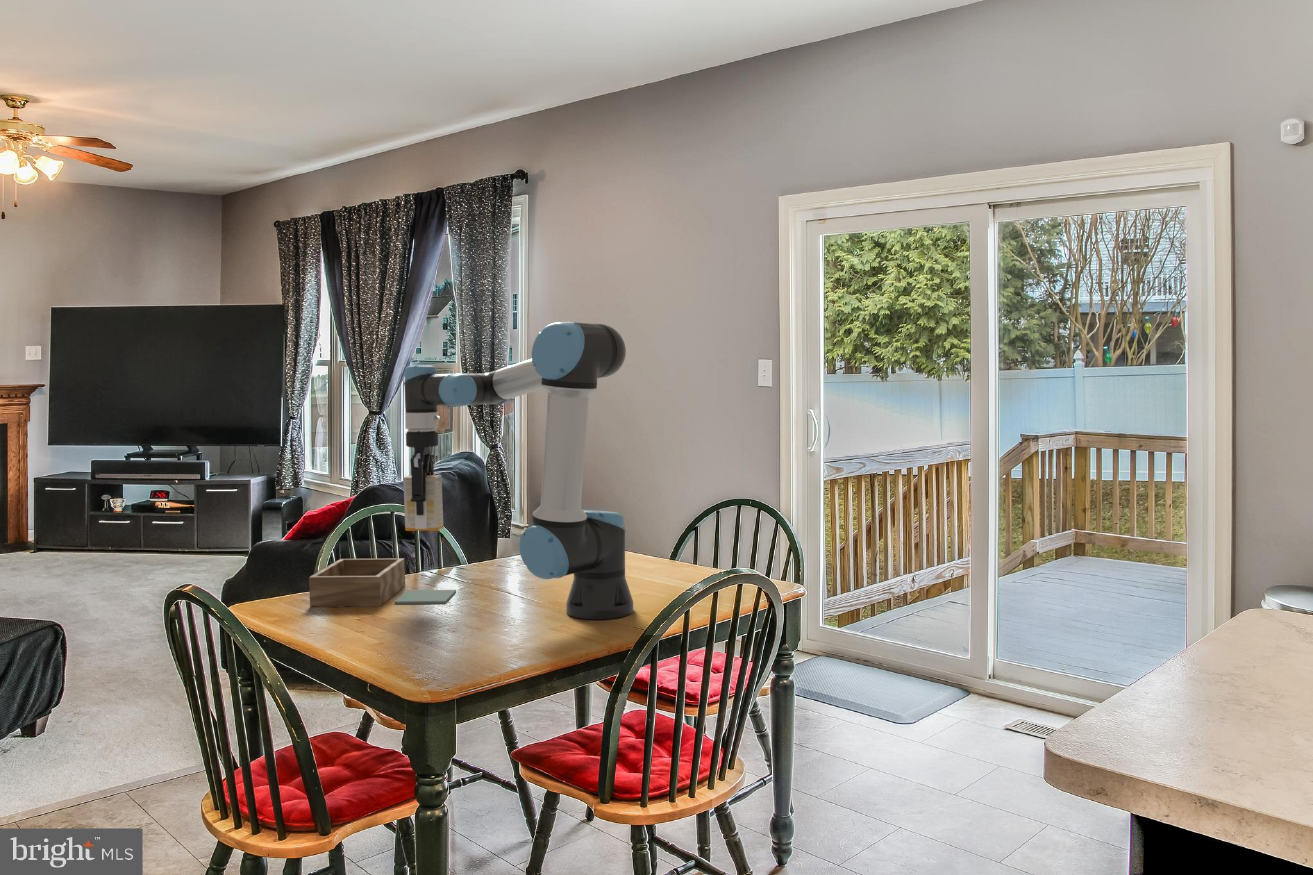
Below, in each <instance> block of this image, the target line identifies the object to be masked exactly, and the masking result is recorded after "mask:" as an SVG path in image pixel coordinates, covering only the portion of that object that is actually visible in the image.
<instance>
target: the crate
mask: <svg viewBox="0 0 1313 875" xmlns="http://www.w3.org/2000/svg"><path fill="white" fill-rule="evenodd" d="M405 559H406V558H405V557H404V558H403V557H402V558H394V557H393V558H390V557H389V558H340V559H338V560H336V561H335V562H333V563H331V564H329V565H328V566H326V567H324V568H322V569H320V570H319V571H317V572H315V573H313V574H312V575H310V576H309V577H308V582H309V583H308V585H309V586H308V587H309V591H308V592H309V607H310V606H329V608H330V606H332V607H331V608H335V607H334V606H354V607H355V606H357V607H358V606H359V607H360V608H361V607H366V608H367V607H381V606H382V605H384V604H385V603H386V602H387V601H389V600H390V599H391V598H392V597H393V596H394V595H395V594H397V593H398V592H399V591H400V590H402V589H403V588H404V587H405V586H406V567H405V566H406V565H405V564H406V562H405ZM359 607H358V608H359Z"/></svg>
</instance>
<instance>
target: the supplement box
mask: <svg viewBox="0 0 1313 875" xmlns="http://www.w3.org/2000/svg"><path fill="white" fill-rule="evenodd" d="M402 480H403V504H404V505H403V508H404V509H403V510H404V526H405V527H404V529H405V532H406V531H407V532H410V531H414V532H415V531H416V532H418V531H420V532H421V531H424V532H425V531H429V532H432V531H433V532H434V531H435V532H437V531H440V530H441V529H443V528H444V511H443V480H442V474H434V475H426V495H425V498H426V500H425V501H427V529H415V502H411V499H412V474H410V475H406V476H404V477H403V478H402Z"/></svg>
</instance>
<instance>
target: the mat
mask: <svg viewBox="0 0 1313 875" xmlns="http://www.w3.org/2000/svg"><path fill="white" fill-rule="evenodd" d="M456 593H457V589H407V590H406V591H404V592H403V593H402V595H400V596H399V597H398V598H397V599H396V600H395V601H394V605H421V604H422V605H426V604H427V605H431V604H432V605H435V604H436V605H437V604H439V605H442V604H444V605H446V604H447V603H448V601H450V599H451V598H452V597H453V596H454V595H455V594H456Z"/></svg>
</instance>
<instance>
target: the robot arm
mask: <svg viewBox="0 0 1313 875" xmlns="http://www.w3.org/2000/svg"><path fill="white" fill-rule="evenodd" d="M626 352H627V349H626V344H625V341H624V339H623V338H622V336H621V334H620V333H619V332H618V331H617V329H615V328H613V327H612V326H609V325H607V324H604V323H603V324H602V323H590V322H589V323H587V322H586V323H585V322H574V321H561V322H553V323H549V324H548V325H546V326H544V327H543V329H542V330H541V331H539V332H538V333H537V335H536V337H535V339H534V341H533V344H532V347H531V358H530V359H526V360H523V361H521V362H518V363H514V364H511V365H508V366H505V367H502V368H499V369H495V370H493V371H489V372H484V373H461V372H457V373H456V372H452V373H438V371H437V367H436V366H435V365H408V366H406V367H405V369H404V381H403V386H404V387H403V388H404V409H405V410H404V411H405V414H404V416H405V417H404V419H405V421H404V422H405V423H404V424H405V429H406V430H407V431H406V432H405V446H406V447H407V448H414V452H413V455H412V457H411V458H410V461H409V462H410V468H411V472H410V473H411V475H412V499H411V502H415V529H427V501H425V500H426V498H425V495H426V475H435V469H434V468H435V467H434V466H435V464H434V463H435V462H434V461H435V454H434V453H431V448H434V447H438V446H439V431H437V430H436V429H438V426H439V425H438V423H439V422H438V421H440V420H441V417H440V415H438V410H439V409H438V406H441V407H455V408H456V407H459V408H460V407H466V406H478V405H495V406H496V405H502V404H507V403H509V402H511V400H512V399H513V398H516V397H520V396H523V395H528V394H532V393H534V392H538V391H541V390H544V391H545V392H546V394H547V399H546V400H547V402H546V404H547V405H546V416H545V417H546V419H545V429H544V430H545V431H544V432H545V433H544V447H543V448H544V449H543V461H542V462H543V464H542V476H541V477H542V478H541V479H542V480H541V492H540V494H541V495H540V505H539V506H538V507H537V508H536V509H535V510H534V511H532V520H531V521H532V522H531V525H530V526H528V527H527V528H526V529H524V531H523V532H522V533H521V535H520V538H519V544H518V546H519V547H518V549H519V553H520V557H521V560H522V562H523V564H524V565H525V566H526V568H527V569H528V572H530V573H531V574H532V575H533V576H535V577H537V578H539V579H542V580H551V579H562V578H564V577H566V576H569V575H573V581H572V584H571V587H570V590H569V593H568V596H567V600H566V604H565V605H566V606H565V607H566V614H567V615H568V616H570V617H573V618H578V619H582V620H610V619H611V620H612V619H618V618H623V617H627V616H629V615H631V614H632V613H634V600H633V596H632V594H631V590H630V588H629V587H630V586H629V584H628V582H627V579H626V527H625V525H626V524H625V518H624V516H623V514H621V513H620V512H616V511H606V510H597V509H596V510H595V509H582V495H583V484H584V483H583V481H584V480H583V479H584V469H585V468H584V467H585V457H586V455H585V454H586V440H587V439H586V438H587V426H588V412H589V400H590V399H589V398H590V397H591V395H593V393H594V392H596V391H597V389H598V387H597V386H598V379H603V378H607V377H610V376H613V375H614V374H616V373H617V372H618V371H619V370H620V369H621V368H622V366H623V364H624V362H625V359H626V355H627V353H626Z"/></svg>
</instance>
